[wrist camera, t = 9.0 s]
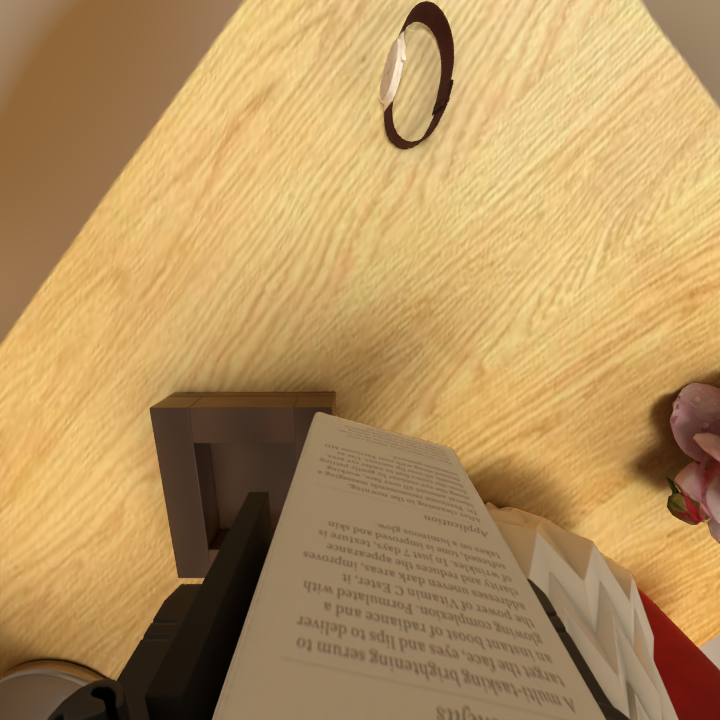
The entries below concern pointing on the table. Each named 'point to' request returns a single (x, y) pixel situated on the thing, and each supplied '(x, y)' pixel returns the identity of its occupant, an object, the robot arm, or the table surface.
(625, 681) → the vase
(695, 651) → the paper cup
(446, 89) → the watch
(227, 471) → the square wooden frame
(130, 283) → the table surface
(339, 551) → the small box
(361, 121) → the table surface
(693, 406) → the flower
